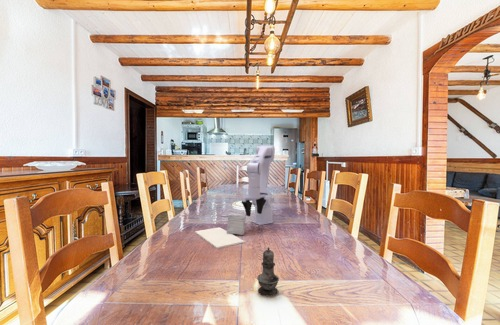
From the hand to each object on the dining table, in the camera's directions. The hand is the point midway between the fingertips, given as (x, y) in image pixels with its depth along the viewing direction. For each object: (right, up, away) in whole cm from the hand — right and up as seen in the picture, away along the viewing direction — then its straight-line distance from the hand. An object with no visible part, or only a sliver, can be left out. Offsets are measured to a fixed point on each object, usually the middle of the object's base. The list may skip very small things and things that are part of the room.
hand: (253, 214), depth 120 cm
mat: (-16, -8, -10) cm, 21 cm away
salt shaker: (+3, -9, -54) cm, 55 cm away
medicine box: (-9, -8, -5) cm, 13 cm away
